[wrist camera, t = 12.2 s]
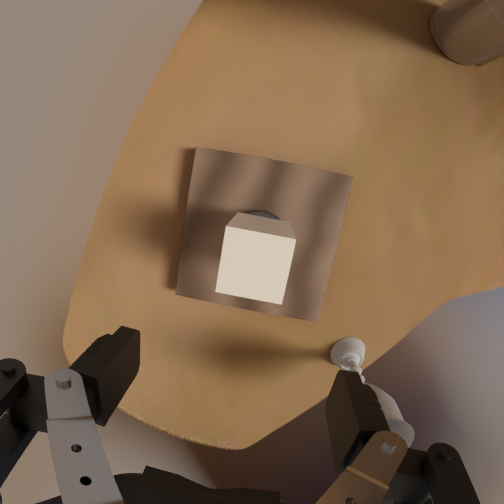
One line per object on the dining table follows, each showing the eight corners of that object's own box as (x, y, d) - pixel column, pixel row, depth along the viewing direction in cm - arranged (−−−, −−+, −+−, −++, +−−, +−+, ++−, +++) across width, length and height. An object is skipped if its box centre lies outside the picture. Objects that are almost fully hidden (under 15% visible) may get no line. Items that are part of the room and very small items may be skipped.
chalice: (313, 359, 43) (330, 455, 25) (342, 322, 41) (379, 410, 24) (352, 379, 43) (381, 471, 26) (381, 345, 42) (427, 430, 24)
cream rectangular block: (290, 222, 34) (296, 239, 25) (279, 272, 35) (281, 304, 27) (237, 212, 34) (225, 225, 25) (229, 262, 35) (215, 291, 27)
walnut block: (348, 176, 37) (352, 177, 35) (315, 315, 41) (317, 321, 39) (200, 148, 37) (196, 147, 35) (179, 288, 41) (175, 294, 39)
